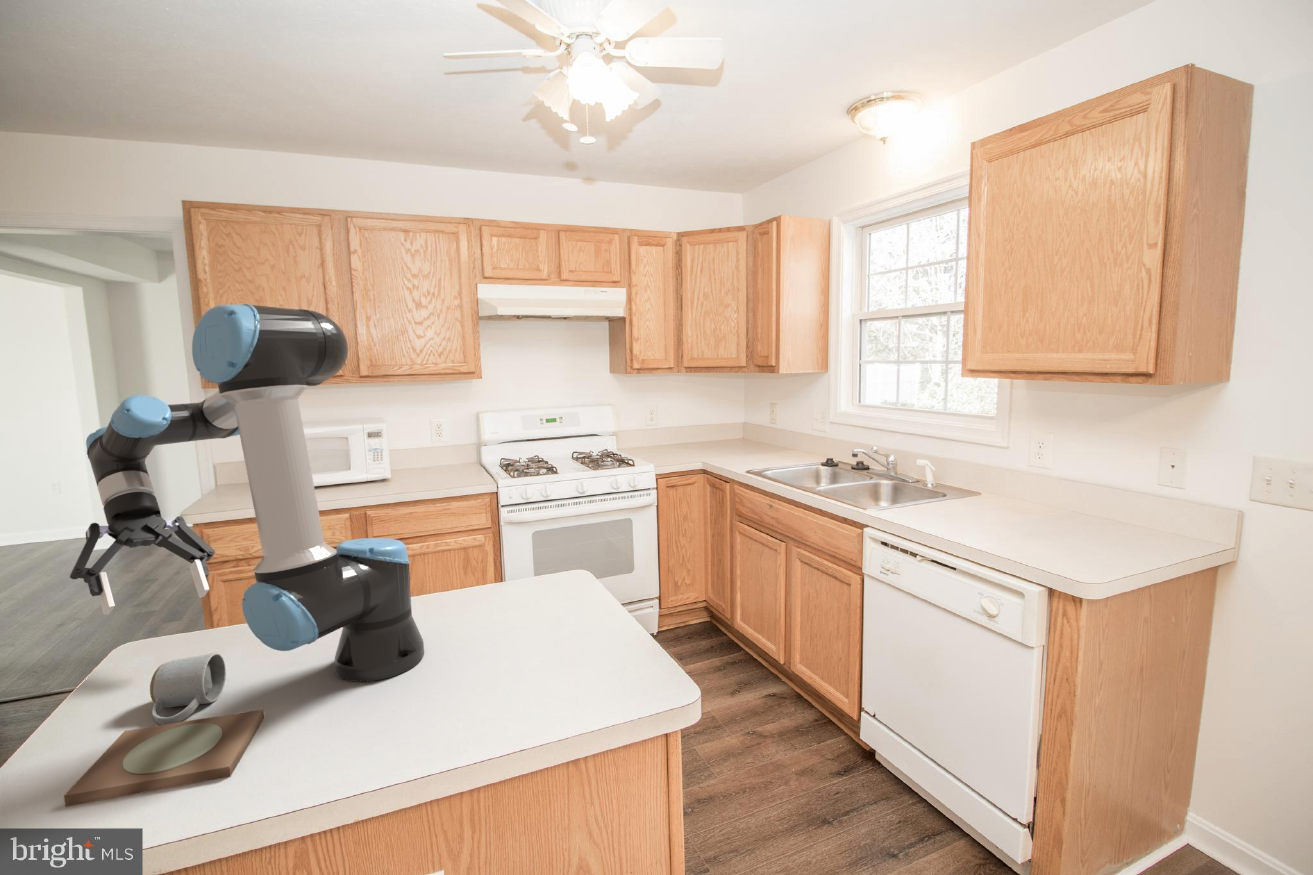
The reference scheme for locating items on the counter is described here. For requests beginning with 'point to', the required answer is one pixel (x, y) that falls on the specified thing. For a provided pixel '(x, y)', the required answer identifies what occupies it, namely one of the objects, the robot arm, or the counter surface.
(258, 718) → the walnut board
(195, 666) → the speckled gray mug
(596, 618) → the counter surface
